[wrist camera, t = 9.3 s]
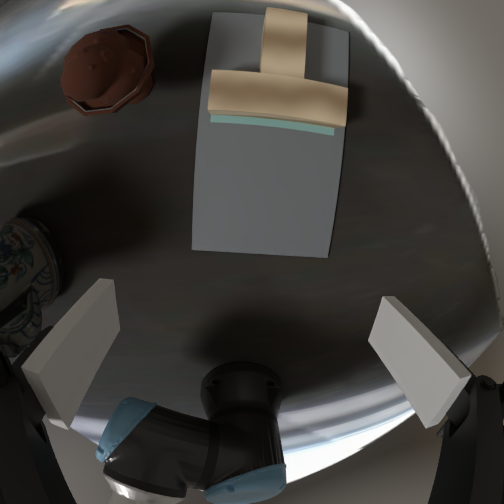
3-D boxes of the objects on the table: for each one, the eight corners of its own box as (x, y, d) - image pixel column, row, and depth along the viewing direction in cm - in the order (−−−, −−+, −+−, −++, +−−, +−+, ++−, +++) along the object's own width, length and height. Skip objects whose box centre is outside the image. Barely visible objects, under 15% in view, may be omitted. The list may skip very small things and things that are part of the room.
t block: (334, 128, 32) (345, 126, 28) (210, 114, 31) (207, 109, 27) (338, 34, 27) (349, 23, 23) (222, 17, 26) (221, 4, 22)
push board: (326, 256, 39) (327, 257, 38) (192, 248, 37) (191, 249, 37) (347, 32, 27) (348, 31, 27) (213, 13, 26) (212, 12, 25)
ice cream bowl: (187, 90, 30) (156, 50, 16) (118, 139, 31) (54, 135, 17) (152, 38, 26) (112, -13, 12) (88, 85, 28) (24, 63, 14)
